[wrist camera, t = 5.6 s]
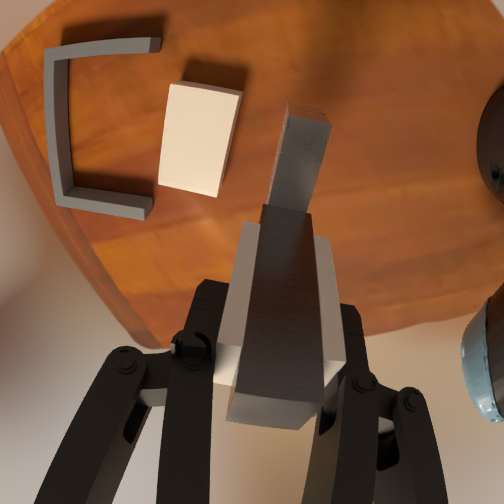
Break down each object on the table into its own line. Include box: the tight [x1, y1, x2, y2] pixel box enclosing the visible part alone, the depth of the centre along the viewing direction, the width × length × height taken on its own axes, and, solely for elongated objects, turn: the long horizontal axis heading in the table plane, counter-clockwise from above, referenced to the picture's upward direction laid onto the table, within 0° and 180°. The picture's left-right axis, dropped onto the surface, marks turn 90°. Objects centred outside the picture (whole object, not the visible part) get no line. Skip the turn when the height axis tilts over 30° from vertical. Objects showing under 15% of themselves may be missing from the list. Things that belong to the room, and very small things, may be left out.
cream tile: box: [158, 81, 243, 197], centre depth 26 cm, size 6×10×3 cm, turn 167°
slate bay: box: [44, 37, 161, 221], centre depth 26 cm, size 12×19×2 cm, turn 171°
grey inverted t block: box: [226, 101, 332, 430], centre depth 14 cm, size 12×2×14 cm, turn 170°
